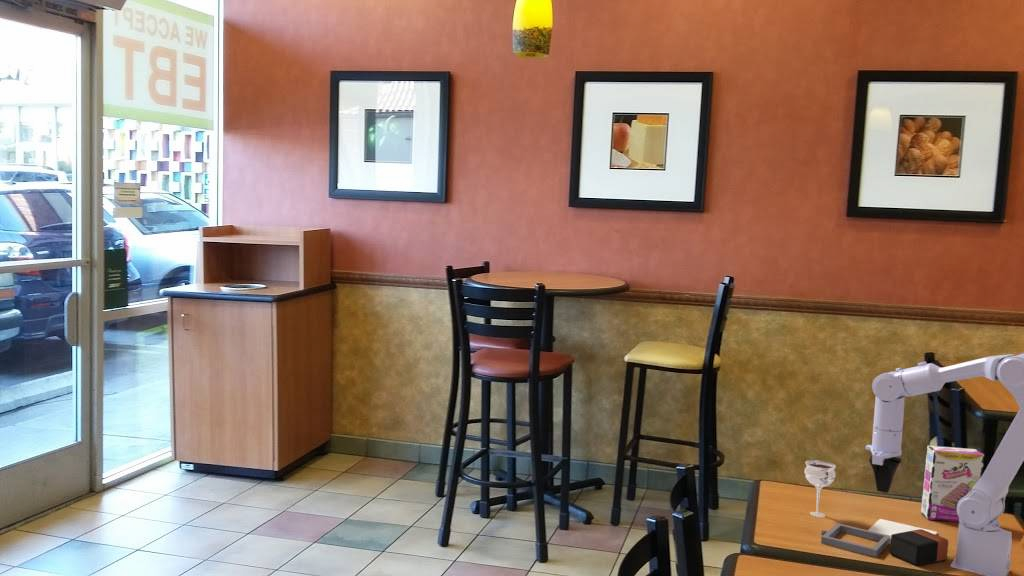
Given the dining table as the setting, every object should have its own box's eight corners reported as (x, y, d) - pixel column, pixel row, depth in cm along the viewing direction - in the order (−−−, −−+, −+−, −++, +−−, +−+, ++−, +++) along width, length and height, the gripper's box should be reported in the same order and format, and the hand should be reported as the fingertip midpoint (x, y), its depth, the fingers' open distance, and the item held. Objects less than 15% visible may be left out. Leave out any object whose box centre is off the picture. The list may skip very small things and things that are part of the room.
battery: (888, 554, 180) (921, 547, 184) (917, 566, 174) (950, 559, 178) (890, 533, 180) (923, 527, 184) (918, 545, 174) (952, 538, 178)
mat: (937, 533, 194) (937, 531, 194) (924, 548, 184) (924, 546, 184) (879, 520, 201) (879, 518, 201) (865, 534, 191) (865, 532, 191)
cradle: (890, 542, 187) (890, 535, 187) (876, 557, 178) (876, 550, 178) (830, 528, 194) (830, 521, 194) (813, 541, 185) (814, 534, 185)
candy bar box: (927, 520, 202) (933, 450, 201) (920, 513, 207) (925, 444, 206) (979, 524, 201) (985, 453, 200) (969, 517, 206) (975, 448, 205)
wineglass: (799, 517, 201) (803, 465, 200) (802, 508, 207) (806, 458, 206) (831, 522, 198) (835, 470, 197) (833, 513, 204) (837, 462, 203)
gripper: (876, 419, 195) (872, 479, 196) (858, 431, 183) (854, 495, 185) (910, 425, 191) (906, 486, 192) (894, 437, 179) (889, 502, 180)
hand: (882, 491), depth 188 cm, fingers closed
